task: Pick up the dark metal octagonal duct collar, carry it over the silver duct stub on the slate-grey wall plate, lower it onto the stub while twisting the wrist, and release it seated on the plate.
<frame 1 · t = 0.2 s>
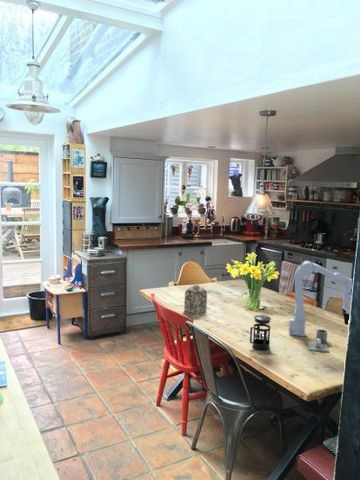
hand: (346, 322, 235), 10 cm above the table, fingers open, 7 cm apart
decorative jar: (195, 311, 282), on the table
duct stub: (317, 347, 221), on the table
collar: (321, 341, 231), on the table
french press: (260, 347, 220), on the table
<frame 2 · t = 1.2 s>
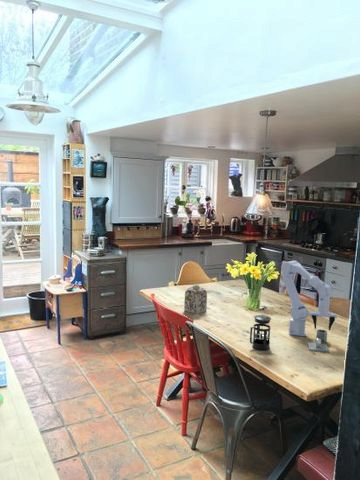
hand: (322, 328, 230), 7 cm above the table, fingers open, 7 cm apart
nothing on the table moved.
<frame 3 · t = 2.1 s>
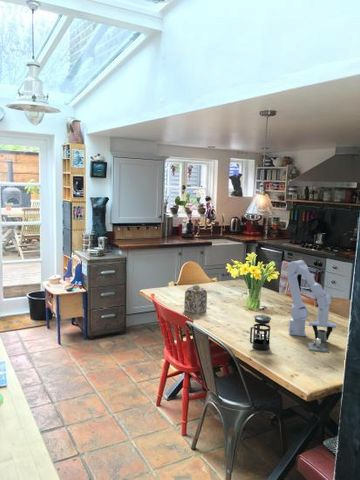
hand: (321, 338, 231), 1 cm above the table, fingers closed on collar, 5 cm apart
collar: (321, 341, 231), on the table, touching gripper
everything else where it was.
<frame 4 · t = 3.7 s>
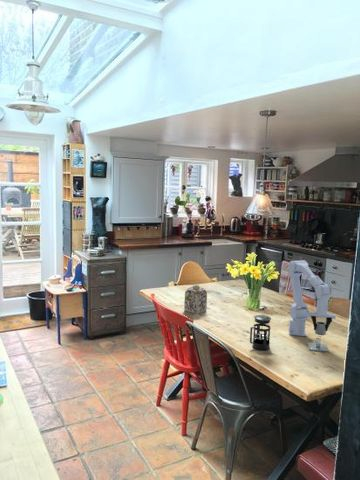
hand: (320, 330, 223), 9 cm above the table, fingers closed on collar, 5 cm apart
collar: (320, 333, 224), point 7 cm above the table, touching gripper
everything else where it was.
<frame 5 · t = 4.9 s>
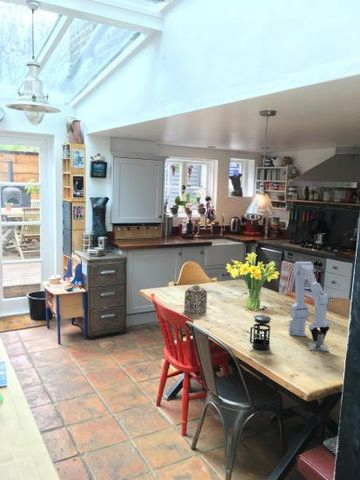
hand: (318, 339, 221), 5 cm above the table, fingers closed on collar, 5 cm apart
collar: (318, 343, 221), point 3 cm above the table, touching gripper
everything else where it was.
when the fingers open (4 cm above the table, at t = 5.6 s): collar stays where it is, resting on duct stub.
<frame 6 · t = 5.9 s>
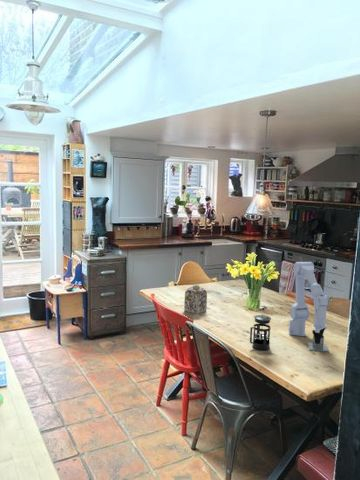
hand: (318, 341, 221), 4 cm above the table, fingers open, 7 cm apart
collar: (317, 346, 221), point 1 cm above the table, touching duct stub
everything else where it was.
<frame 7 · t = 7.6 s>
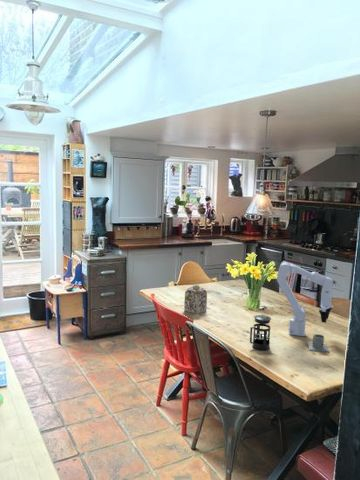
hand: (324, 320, 237), 10 cm above the table, fingers open, 7 cm apart
nothing on the table moved.
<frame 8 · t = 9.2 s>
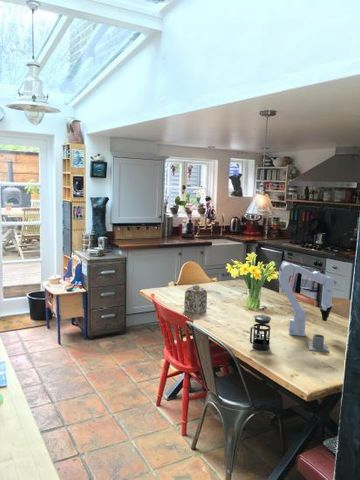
hand: (325, 319, 240), 10 cm above the table, fingers open, 7 cm apart
nothing on the table moved.
at the end: collar 0.1 cm off-centre on the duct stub, point 0.8 cm above the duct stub's base; collar tilted 0°; the gripper is holding nothing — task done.
